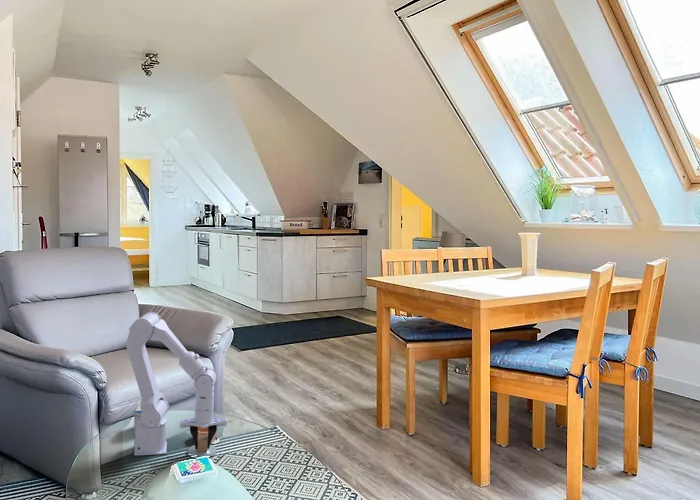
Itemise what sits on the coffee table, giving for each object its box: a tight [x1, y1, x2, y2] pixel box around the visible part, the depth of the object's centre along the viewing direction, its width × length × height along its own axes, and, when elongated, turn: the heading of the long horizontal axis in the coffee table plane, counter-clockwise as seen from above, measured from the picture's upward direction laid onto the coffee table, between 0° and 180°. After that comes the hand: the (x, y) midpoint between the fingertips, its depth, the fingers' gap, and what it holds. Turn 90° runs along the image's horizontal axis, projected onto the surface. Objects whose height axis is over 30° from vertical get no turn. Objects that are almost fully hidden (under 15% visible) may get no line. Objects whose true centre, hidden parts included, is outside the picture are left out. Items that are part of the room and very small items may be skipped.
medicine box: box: [133, 402, 141, 436], centre depth 197 cm, size 8×4×9 cm, turn 5°
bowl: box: [197, 426, 217, 443], centre depth 195 cm, size 7×7×4 cm
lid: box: [187, 436, 217, 457], centre depth 186 cm, size 9×9×5 cm
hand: (202, 447), depth 186 cm, fingers closed on lid, 3 cm apart
